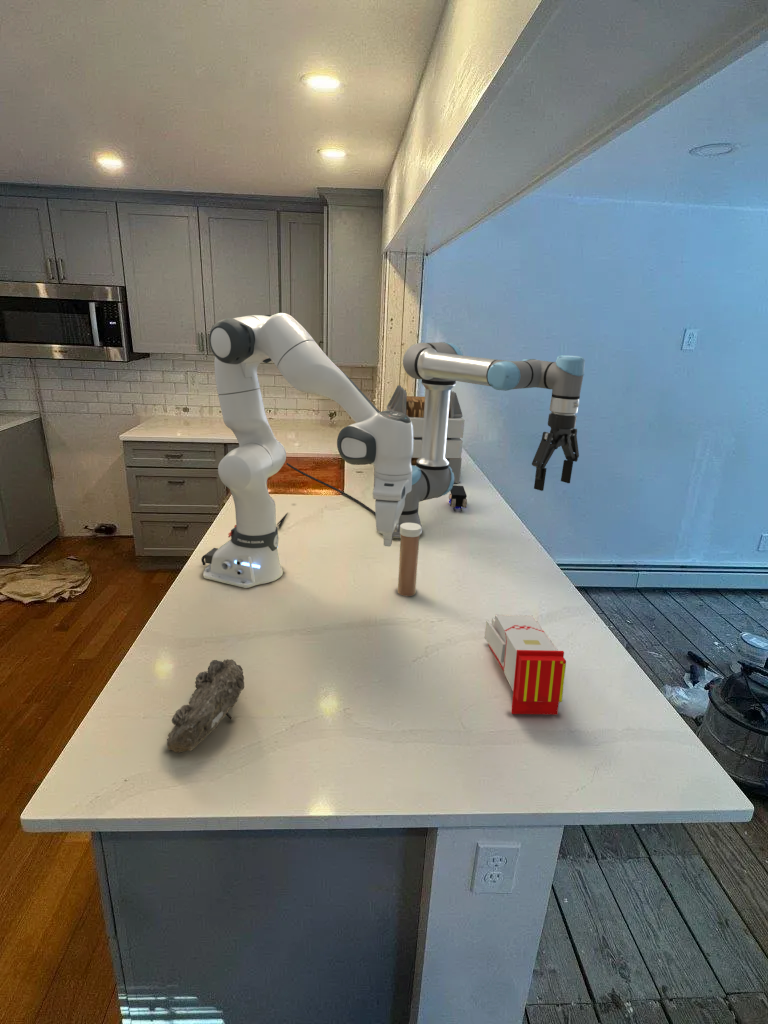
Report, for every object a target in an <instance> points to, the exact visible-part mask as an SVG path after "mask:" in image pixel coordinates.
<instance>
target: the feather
mask: <svg viewBox="0 0 768 1024" xmlns="http://www.w3.org/2000/svg"><path fill="white" fill-rule="evenodd" d="M287 515H288V513H286V514H285V515H284V516H283V517H282V518H281V519H280V521H278V522H277V523H276V526H279V527H278V529H280V528H281V527H282V524H283V522H284V521H285V519H286V518H287Z"/></svg>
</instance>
